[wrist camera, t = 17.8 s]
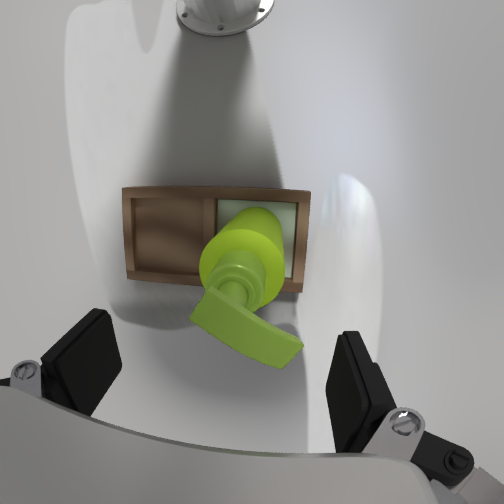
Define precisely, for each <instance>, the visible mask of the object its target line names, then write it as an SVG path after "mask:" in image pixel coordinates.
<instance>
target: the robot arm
mask: <svg viewBox="0 0 504 504" xmlns="http://www.w3.org/2000/svg"><path fill="white" fill-rule="evenodd" d="M273 6H274V0H177V2H176V11H177V15H178V16H179V18H180V20H181V21H182V23H183V24H184V25H185V26H186V27H188V28H189V29H190V30H193V31H195V32H197V33H200V34H204V35H212V36H224V35H231V34H236V33H239V32H243V31H245V30H248V29H250V28H252V27H254V26H256V25H257V24H259V23H260V22H262V21H263V20H264V19H265V18H266V17H267V16H268V14H269V13H270V12H271V10H272V8H273ZM41 361H42V365H41V366H40V365H39V364H38V363H37V362H36V361H33V360H26V361H22V362H20V363H18V364H17V365H15V366H14V368H13V369H12V372H11V377H10V378H6V379H1V380H0V504H504V485H503V484H502V483H500V482H499V481H498V480H497V479H495V478H494V477H493V476H491V475H490V474H489V473H488V472H486V471H485V470H484V469H482V468H481V467H479V468H478V469H476V468H475V467H474V458H473V456H472V454H471V453H470V452H469V451H468V450H466V449H465V448H464V447H461V446H459V445H456V444H454V443H451V442H449V441H446V440H444V439H442V438H440V437H438V436H435V435H433V434H430V433H429V432H426V431H424V429H425V421H424V419H423V417H422V416H421V415H420V414H419V413H418V412H417V411H415V410H413V409H410V408H402V407H400V408H397V407H396V404H395V402H394V399H393V397H392V395H391V392H390V390H389V388H388V385H387V383H386V381H385V378H384V376H383V374H382V372H381V370H380V367H379V365H378V364H377V363H375V362H374V363H373V362H372V360H371V358H370V355H369V353H368V351H367V349H366V346H365V344H364V342H363V340H362V338H361V335H360V333H359V332H358V331H344V332H343V334H342V335H338V338H337V342H336V347H335V351H334V355H333V359H332V363H331V367H330V371H329V375H328V379H327V383H326V397H327V403H328V408H329V414H330V419H331V425H332V431H333V437H334V443H335V449H336V453H268V452H251V451H241V450H240V451H239V450H230V449H222V448H215V447H208V446H201V445H195V444H189V443H184V442H179V441H174V440H169V439H164V438H159V437H156V436H151V435H148V434H144V433H140V432H136V431H133V430H129V429H126V428H123V427H119V426H115V425H113V424H109V423H107V422H104V421H100V420H98V419H95V418H92V417H90V416H91V415H92V413H93V412H94V410H95V409H96V407H97V405H98V404H99V403H100V401H101V399H102V398H103V396H104V395H105V393H106V392H107V390H108V389H109V387H110V386H111V384H112V383H113V381H114V380H115V378H116V377H117V375H118V374H119V372H120V371H121V368H122V362H121V357H120V354H119V350H118V346H117V342H116V337H115V333H114V328H113V324H112V319H111V316H110V315H109V314H108V312H107V311H106V310H103V309H97V308H94V309H92V310H91V311H90V312H89V313H88V314H87V315H86V316H84V317H83V318H82V319H81V320H80V321H79V322H78V323H77V324H76V325H75V326H74V327H73V328H71V329H70V330H69V331H68V332H67V333H66V334H65V335H64V336H63V337H62V338H61V339H60V340H59V341H58V342H57V343H56V344H54V345H53V346H52V347H51V348H50V349H49V350H48V351H47V352H46V353H45V354H44V355H43V356H42V357H41Z"/></svg>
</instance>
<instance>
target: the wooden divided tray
mask: <svg viewBox="0 0 504 504" xmlns="http://www.w3.org/2000/svg"><path fill="white" fill-rule="evenodd" d="M310 199H311V192H310V191H304V190H289V189H272V188H252V187H221V186H142V187H126V188H122V211H123V233H124V247H125V259H126V270H127V279H132V280H142V281H151V282H161V283H172V284H183V285H194V286H203V284H202V282H201V279H200V274H199V263H200V258H201V255H202V252H203V250H204V248H205V247H206V245H207V244H208V243H209V242H210V241H211V240H212V239H213V238H214V237H215V236H216V235H217V234H218V233H219V232H220V231H221V230H222V229H223V228H224V227H225V226H226V225H227V224H228V223H229V222H230V221H231V220H232V219H233V218H234V217H235V216H236V215H237V214H238V213H239V212H240V211H242V210H244V209H246V208H250V207H261V208H265V209H267V210H269V211H270V212H272V213H273V214H274V215H275V216H276V217H277V218H278V220H279V222H280V224H281V228H282V236H283V248H284V261H285V279H284V283H283V285H282V288H281V290H280V292H299V293H302V289H303V280H304V270H305V260H306V250H307V237H308V226H309V213H310Z"/></svg>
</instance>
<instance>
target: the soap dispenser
mask: <svg viewBox="0 0 504 504" xmlns="http://www.w3.org/2000/svg"><path fill="white" fill-rule="evenodd" d="M199 274H200V279H201V282H202V284H203V286H204V288H205V294H204V296H203V297H202V299H201V300H200V302H199V303H198V305H197V306H196V308H195V309H194V311H193V313H192V314H191V316H190V318H189V320H191V321H192V322H194V323H195V324H196V325H198V326H199V327H201V328H202V329H203V330H205V331H206V332H208V333H209V334H211V335H213V336H214V337H215V338H217V339H218V340H220V341H221V342H223V343H225V344H226V345H228V346H229V347H231V348H233V349H234V350H236V351H238V352H240V353H242V354H244V355H246V356H248V357H250V358H252V359H254V360H257V361H259V362H261V363H264V364H266V365H269V366H272V367H275V368H278V369H283V368H284V367H285V366H286V365H287V364H288V363H289V362H290V361H291V360H292V359H293V358H294V357H295V356H296V354H297V353H298V352H299V351H300V350H301V349H302V348H303V347H304V344H303V343H302V342H301V341H300V340H299V339H298V338H297V337H295V336H293V335H291V334H289V333H287V332H284V331H282V330H280V329H279V328H277V327H275V326H273V325H271V324H270V323H268V322H266V321H265V320H263V319H261V318H260V317H258V316H257V315H255V314H254V312H255V311H257V309H258V308H261V307H263V306H265V305H267V304H268V303H269V302H271V301H272V300H273V299H274V298H275V297H276V296H277V294H278V293H279V292H280V290H281V288H282V285H283V283H284V279H285V261H284V248H283V236H282V228H281V224H280V222H279V220H278V218H277V217H276V216H275V215H274V214H273V213H272V212H270V211H269V210H267V209H265V208H261V207H250V208H246V209H244V210H242V211H240V212H239V213H238V214H237V215H236V216H235V217H234V218H233V219H232V220H231V221H230V222H229V223H228V224H227V225H226V226H225V227H224V228H223V229H222V230H221V231H220V232H219V233H218V234H217V235H216V236H215V237H214V238H213V239H212V240H211V241H210V242H209V243H208V244H207V245H206V247H205V248H204V250H203V252H202V255H201V258H200V263H199Z"/></svg>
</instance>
